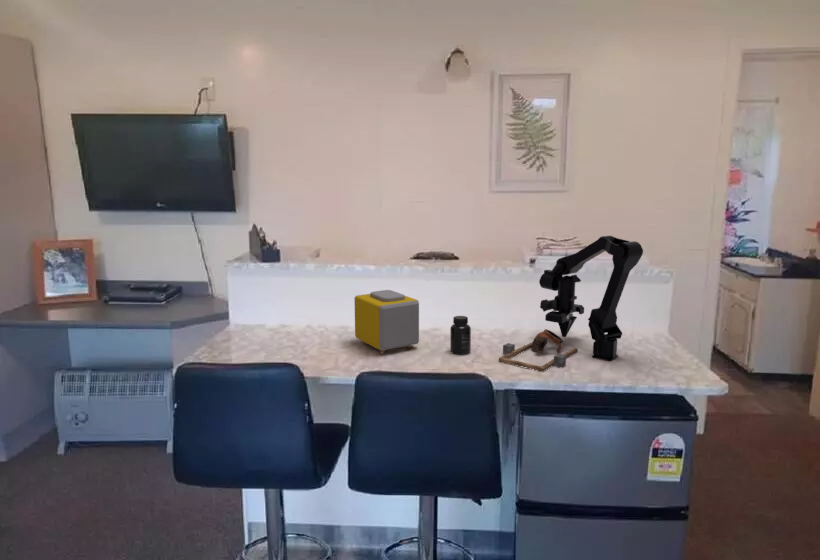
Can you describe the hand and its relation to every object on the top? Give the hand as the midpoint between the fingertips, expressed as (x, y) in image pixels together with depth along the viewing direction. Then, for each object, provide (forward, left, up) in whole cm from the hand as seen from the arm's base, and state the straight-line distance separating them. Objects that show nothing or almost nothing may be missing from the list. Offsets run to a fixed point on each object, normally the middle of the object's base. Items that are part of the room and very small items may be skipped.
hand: (564, 336), depth 210 cm
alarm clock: (+47, +40, -3) cm, 62 cm away
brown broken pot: (+1, +12, -3) cm, 12 cm away
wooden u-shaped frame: (0, +18, -2) cm, 19 cm away
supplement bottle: (+23, +30, -3) cm, 38 cm away
